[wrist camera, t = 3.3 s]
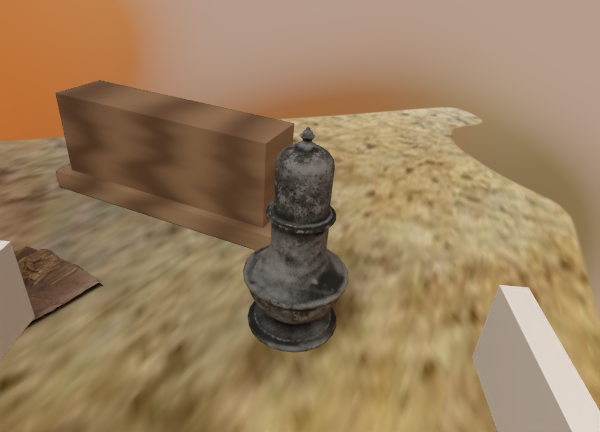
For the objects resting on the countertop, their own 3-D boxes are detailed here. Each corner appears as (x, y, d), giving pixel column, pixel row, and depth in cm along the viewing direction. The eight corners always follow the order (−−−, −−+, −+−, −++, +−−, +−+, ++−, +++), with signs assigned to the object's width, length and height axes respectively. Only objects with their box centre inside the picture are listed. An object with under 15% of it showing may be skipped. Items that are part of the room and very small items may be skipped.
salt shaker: (245, 284, 29) (247, 104, 23) (335, 286, 30) (360, 110, 24) (239, 355, 24) (240, 150, 18) (347, 357, 25) (384, 156, 19)
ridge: (59, 186, 38) (37, 93, 34) (110, 161, 43) (97, 76, 39) (269, 254, 32) (274, 151, 28) (302, 216, 37) (310, 123, 33)
